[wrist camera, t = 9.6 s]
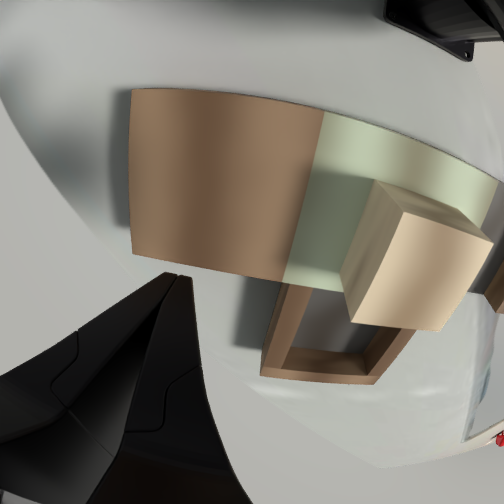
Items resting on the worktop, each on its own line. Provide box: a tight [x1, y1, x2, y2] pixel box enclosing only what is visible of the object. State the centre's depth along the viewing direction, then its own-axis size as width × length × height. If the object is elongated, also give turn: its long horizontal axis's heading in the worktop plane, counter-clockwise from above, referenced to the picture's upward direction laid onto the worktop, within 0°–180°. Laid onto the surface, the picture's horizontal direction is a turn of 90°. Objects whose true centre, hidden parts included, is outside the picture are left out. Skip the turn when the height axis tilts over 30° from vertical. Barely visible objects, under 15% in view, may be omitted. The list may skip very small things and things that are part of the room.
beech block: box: [339, 179, 494, 331], centre depth 13 cm, size 6×6×4 cm
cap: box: [496, 433, 504, 447], centre depth 50 cm, size 8×6×6 cm
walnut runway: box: [128, 88, 504, 385], centre depth 18 cm, size 34×20×3 cm, turn 81°
